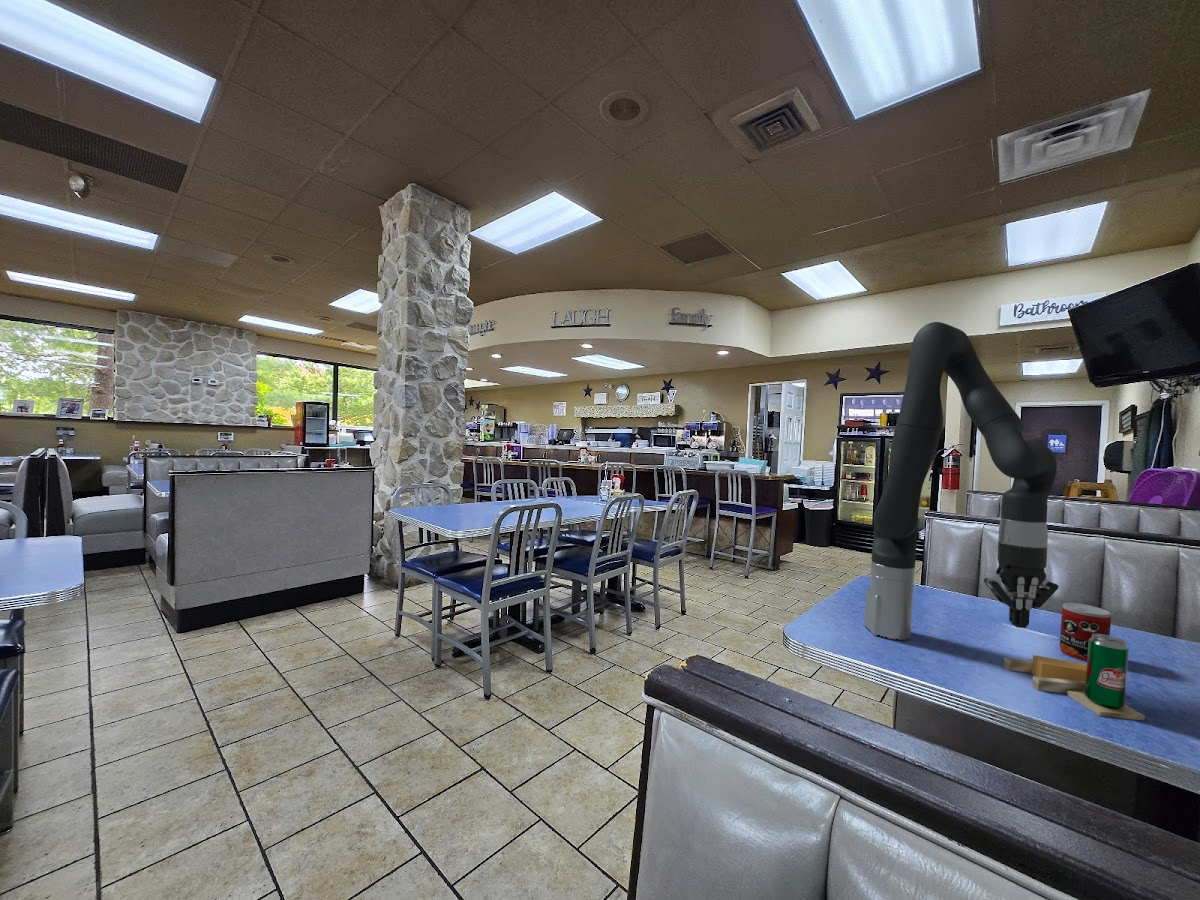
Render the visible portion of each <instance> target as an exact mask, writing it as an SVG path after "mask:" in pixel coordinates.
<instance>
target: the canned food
mask: <svg viewBox="0 0 1200 900" xmlns="http://www.w3.org/2000/svg"><path fill="white" fill-rule="evenodd" d="M1060 622H1061V623H1060V633H1059V634H1060V635H1059V649H1060V652H1061V653H1062V654H1064V655H1066V656H1068V657H1070V658H1074V659H1075V660H1080V661H1083V662H1087V656H1088V643H1089V639H1090V638H1091V637H1092V634H1104V635H1109V636H1111V628H1112V627H1111V625H1112V613H1111V612H1110V611H1108V610H1106V609H1104V608H1101V607H1097V606H1093V605H1088V604H1084V603H1079V602H1078V603H1076V602H1064V603H1063V604H1062V608H1061V620H1060Z"/></svg>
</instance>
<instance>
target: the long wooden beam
mask: <svg viewBox="0 0 1200 900" xmlns="http://www.w3.org/2000/svg"><path fill="white" fill-rule="evenodd" d="M1032 660H1033V662H1032V672H1031V674H1033V676H1034V677H1045V678H1056V679H1066V680H1077V681H1086V669H1087V663H1082V662H1076V661H1070V660H1065V659H1060V658H1053V657H1046V656H1040V655H1035V654H1032Z"/></svg>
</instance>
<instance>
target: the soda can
mask: <svg viewBox="0 0 1200 900" xmlns="http://www.w3.org/2000/svg"><path fill="white" fill-rule="evenodd" d="M1129 651H1130V648H1129V647H1128V645H1127V642H1126V641H1125V640H1123V639H1121V638H1119V637H1116V636H1112V635H1110V636H1109V635H1104V634H1092V637H1091V638H1090V639H1089V643H1088V656H1087V661H1086V664H1087V669H1086V682H1085V696H1086V697H1087V698H1088V699H1089V700H1090V701H1092V702H1094V703H1096V704H1098V705H1101V706H1104V707H1107V708H1112V709H1119V708H1122V707H1123V706H1124V704H1125V702H1126V701H1125V700H1126V699H1125V698H1126V689H1127V688H1126V687H1127V678H1128V677H1127V675H1128V663H1129Z"/></svg>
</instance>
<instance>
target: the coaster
mask: <svg viewBox="0 0 1200 900" xmlns="http://www.w3.org/2000/svg"><path fill="white" fill-rule="evenodd" d="M1066 695H1067V696H1068V697H1070V698H1071V699H1073V700H1074V701H1075V702H1077V703H1079V704H1081V705H1082V706H1084V707H1085V708H1087V709H1088V710H1090V711H1091V712H1093V713H1094V714H1095V715H1097V716H1099V717H1108V718H1116V719H1117V718H1118V719H1126V720H1127V719H1128V720H1136V721H1137V720H1138V721H1145V718H1146V717H1145V715H1144V714H1142V713H1141V712H1139V711H1137V710H1136V709H1133V708H1132V707H1130V706H1128V705H1127V704H1125V703H1124V706H1123V707H1122V708H1119V709H1112V708H1107V707H1104V706H1101V705H1098V704H1096V703H1094V702H1092V701H1090V700H1089V699H1088V698H1087V697H1086V696H1085V692H1075V691H1067V693H1066Z"/></svg>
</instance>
